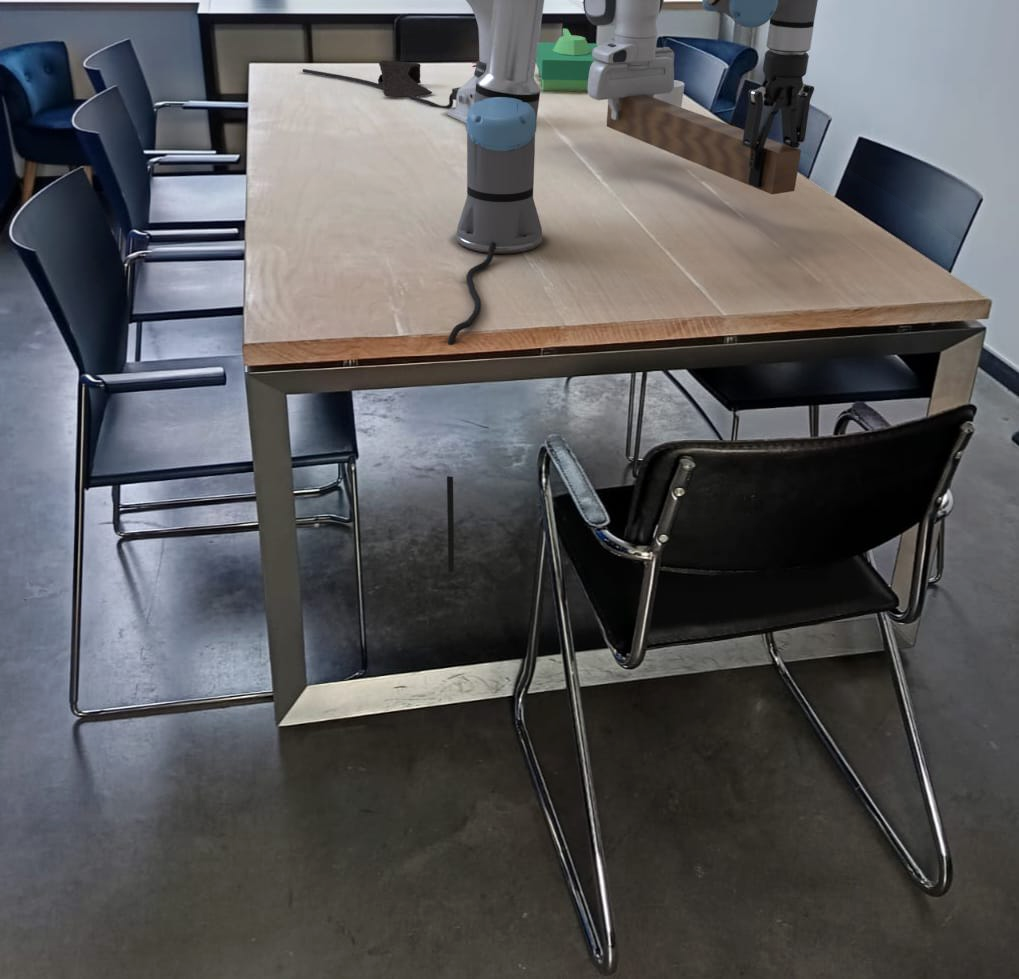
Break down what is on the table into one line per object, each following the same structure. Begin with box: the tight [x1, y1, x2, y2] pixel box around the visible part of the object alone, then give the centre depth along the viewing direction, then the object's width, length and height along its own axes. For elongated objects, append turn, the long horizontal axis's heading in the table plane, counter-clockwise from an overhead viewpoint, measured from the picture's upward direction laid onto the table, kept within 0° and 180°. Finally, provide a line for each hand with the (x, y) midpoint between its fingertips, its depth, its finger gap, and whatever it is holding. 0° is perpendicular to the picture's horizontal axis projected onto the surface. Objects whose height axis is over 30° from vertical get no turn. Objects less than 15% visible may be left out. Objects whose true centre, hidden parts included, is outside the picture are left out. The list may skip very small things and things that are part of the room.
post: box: [606, 95, 802, 195], centre depth 218 cm, size 55×5×8 cm, turn 29°
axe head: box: [377, 59, 433, 99], centre depth 299 cm, size 18×8×15 cm
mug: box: [653, 79, 685, 108], centre depth 268 cm, size 11×9×10 cm
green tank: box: [536, 28, 598, 92], centre depth 314 cm, size 18×12×35 cm
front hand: (767, 183), depth 203 cm, fingers closed on post, 5 cm apart
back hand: (628, 117), depth 236 cm, fingers closed on post, 5 cm apart
